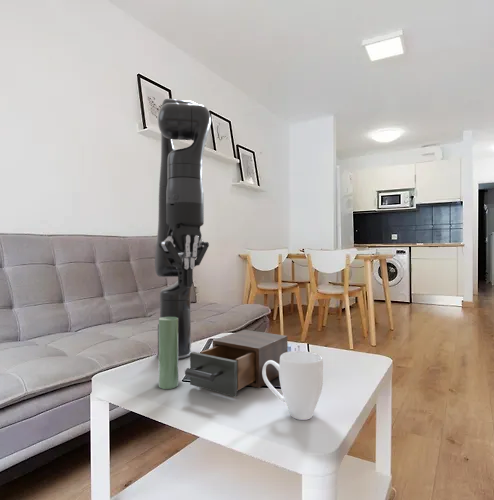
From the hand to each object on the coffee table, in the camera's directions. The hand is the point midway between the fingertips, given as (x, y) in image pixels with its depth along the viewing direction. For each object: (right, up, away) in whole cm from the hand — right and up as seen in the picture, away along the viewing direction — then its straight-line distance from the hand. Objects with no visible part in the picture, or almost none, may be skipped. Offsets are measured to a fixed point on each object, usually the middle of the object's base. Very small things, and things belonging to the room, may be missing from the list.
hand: (185, 287), depth 74 cm
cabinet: (+14, -25, +21) cm, 35 cm away
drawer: (+7, -24, +11) cm, 27 cm away
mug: (+21, -25, -2) cm, 33 cm away
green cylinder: (-6, -25, +12) cm, 28 cm away
